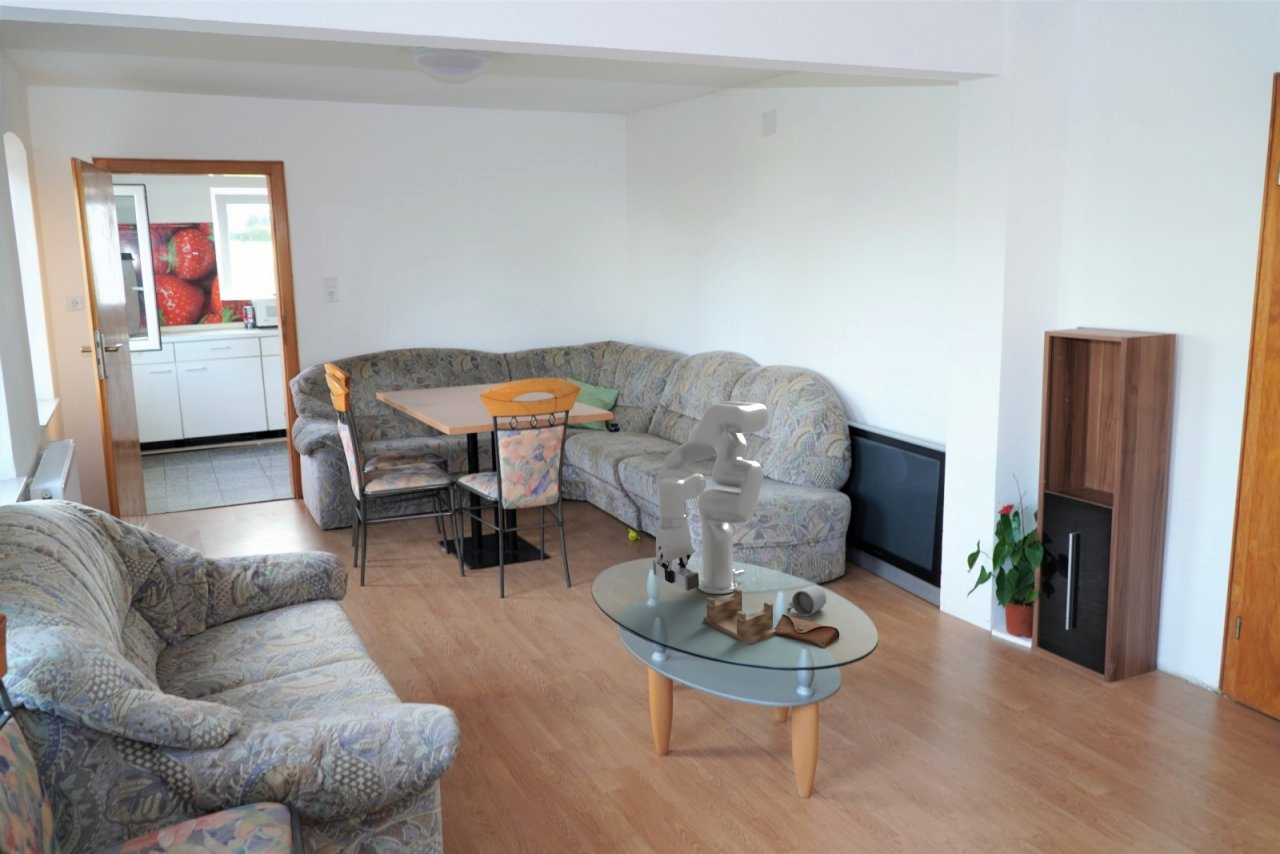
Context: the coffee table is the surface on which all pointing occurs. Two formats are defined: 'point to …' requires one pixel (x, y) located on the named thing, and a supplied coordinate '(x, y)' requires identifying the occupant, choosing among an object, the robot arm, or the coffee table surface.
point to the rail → (679, 576)
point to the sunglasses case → (806, 631)
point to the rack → (740, 618)
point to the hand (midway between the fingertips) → (675, 579)
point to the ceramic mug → (808, 600)
